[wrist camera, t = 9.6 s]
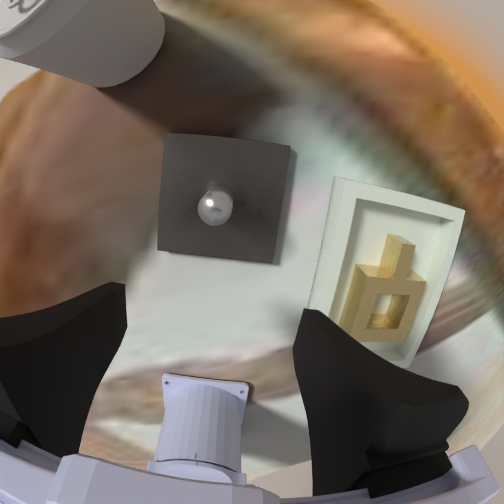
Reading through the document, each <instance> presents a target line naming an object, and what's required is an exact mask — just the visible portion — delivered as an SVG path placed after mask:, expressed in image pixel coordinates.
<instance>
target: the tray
mask: <svg viewBox="0 0 504 504" xmlns="http://www.w3.org/2000/svg"><path fill="white" fill-rule="evenodd" d="M464 214H465V210H462V209H459V208H457V207H454V206H451V205H448V204H445V203H441V202H438V201H434V200H431V199H427V198H424V197H420V196H416V195H413V194H409V193H405V192H401V191H397V190H393V189H389V188H385V187H381V186H376V185H372V184H367V183H363V182H358V181H354V180H349V179H344V178H339V177H334V181H333V187H332V193H331V199H330V204H329V210H328V215H327V220H326V225H325V230H324V235H323V240H322V245H321V250H320V255H319V259H318V264H317V268H316V273H315V277H314V282H313V286H312V290H311V294H310V299H309V303H308V307H307V309H315V310H319V311H321V312H322V313H324V314H325V315H326V316H327V317H329V318H330V319H331V320H332V321H333V322H334V323H336V324H337V325H338V324H339V321H340V317H341V314H342V311H343V307H344V304H345V301H346V297H347V294H348V290H349V286H350V283H351V279H352V275H353V271H354V267H355V263H356V264H365V265H375V266H379V265H380V261H381V257H382V253H383V249H384V245H385V241H386V237H387V234H392V235H398V236H401V237H403V238H405V239H406V240H408V241H409V242H411V243H413V244H414V245H416V247H415V251H414V254H413V258H412V262H411V265H410V268H409V269H412V270H413V271H414V272H416V273H417V274H418V275H419V276H421V277H422V278H423V279H424V280H426V281H427V283H426V286H425V288H424V291H423V294H422V297H421V300H420V303H419V305H418V308H417V311H416V313H415V316H414V318H413V321H412V323H411V326H410V328H409V331H408V333H407V335H406V338H405V340H404V341H392V342H359V343H361V344H362V345H363V346H365V347H366V348H368V349H369V350H370V351H372V352H374V353H375V354H377V355H378V356H380V357H382V358H384V359H385V360H387V361H389V362H391V363H393V364H394V365H397V366H399V367H401V368H409V366H410V364H411V362H412V360H413V358H414V356H415V354H416V352H417V350H418V348H419V346H420V344H421V341H422V339H423V337H424V335H425V333H426V330H427V328H428V326H429V323H430V321H431V319H432V316H433V314H434V311H435V309H436V306H437V304H438V301H439V298H440V296H441V293H442V290H443V287H444V285H445V282H446V279H447V276H448V273H449V270H450V267H451V263H452V260H453V257H454V253H455V250H456V246H457V243H458V239H459V235H460V231H461V227H462V223H463V219H464ZM391 297H392V294H381V293H378V294H377V297H376V300H375V304H374V307H373V310H372V313H371V314H386V312H387V309H388V306H389V303H390V300H391ZM338 326H339V325H338Z"/></svg>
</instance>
